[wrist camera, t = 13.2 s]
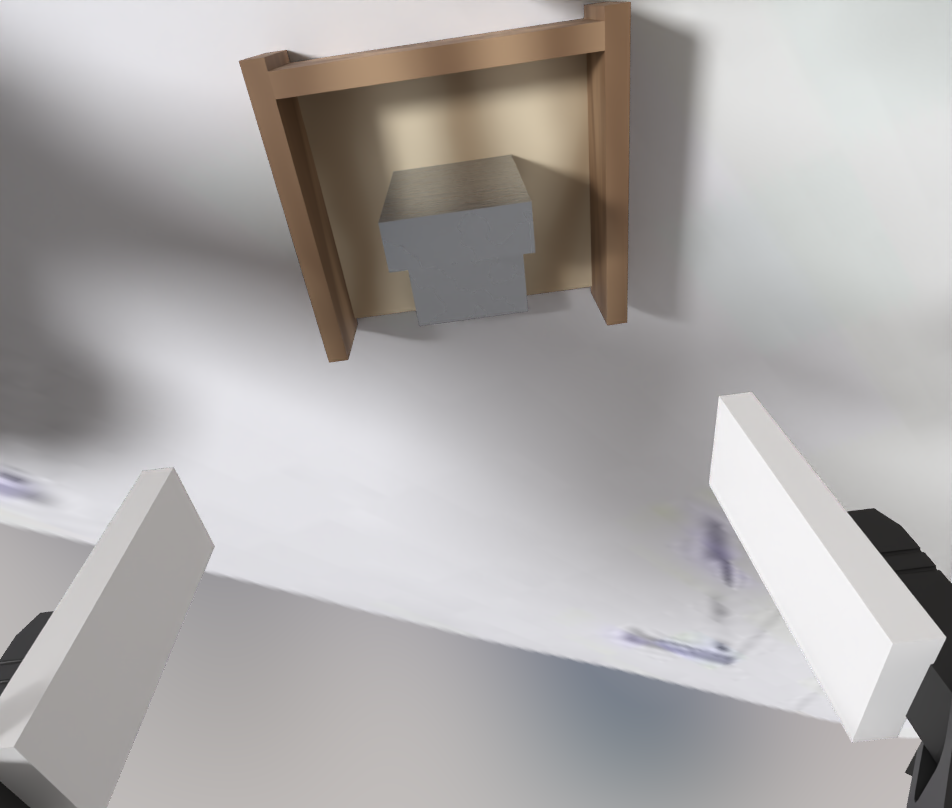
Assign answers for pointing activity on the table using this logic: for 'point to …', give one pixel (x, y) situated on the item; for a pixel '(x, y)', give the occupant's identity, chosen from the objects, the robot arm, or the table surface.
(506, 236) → the angle bracket
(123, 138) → the table surface
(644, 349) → the table surface
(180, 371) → the table surface
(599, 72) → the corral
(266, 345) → the table surface
